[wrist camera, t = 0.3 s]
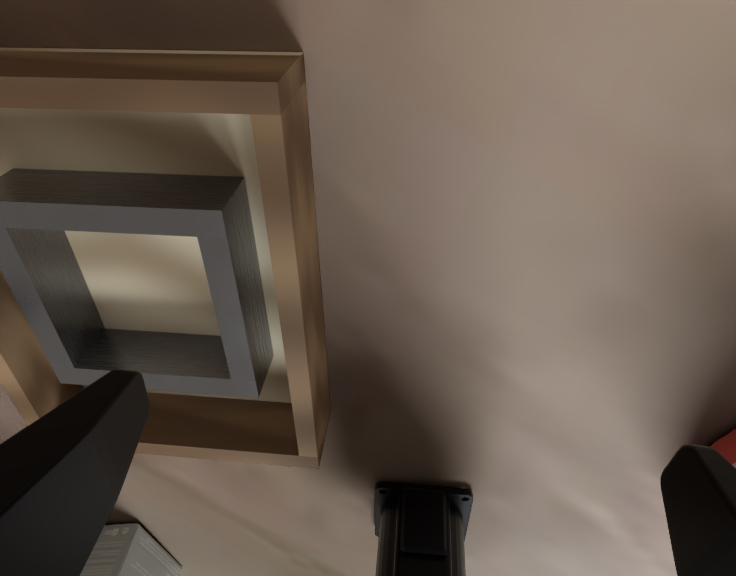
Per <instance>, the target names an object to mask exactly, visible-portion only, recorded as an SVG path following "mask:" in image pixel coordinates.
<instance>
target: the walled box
mask: <svg viewBox="0 0 736 576" xmlns="http://www.w3.org/2000/svg"><path fill="white" fill-rule="evenodd" d="M13 168H20V169H47V170H74V171H101V172H129V173H156V174H183V175H210V176H237V177H245V181H246V187H247V193H248V199H249V206H250V212H251V218H252V224H253V230H254V237H255V243H256V249H257V255H258V261H259V268H260V274H261V280H262V286H263V292H264V298H265V305H266V311H267V317H268V323H269V329H270V336H271V342H272V348H273V354H274V356H273V359H272V362H271V365H270V367H269V370H268V373H267V376H266V379H265V382H264V384H263V387H262V390H261V393H260V396H259V398H254V397H241V396H227V395H214V394H200V393H186V392H173V391H159V390H146V391H147V394H148V398H149V403H150V410H149V415H148V418H147V421H146V424H145V427H144V429H143V432H142V435H141V437H140V440H139V443H138V445H137V448H136V451H135V453H141V454H152V455H164V456H176V457H188V458H200V459H212V460H223V461H235V462H247V463H259V464H271V465H283V466H294V467H306V468H318V469H319V466H320V461H321V456H322V451H323V446H324V441H325V436H326V431H327V426H328V421H329V416H330V411H331V408H330V395H329V382H328V369H327V356H326V342H325V329H324V316H323V303H322V290H321V277H320V264H319V251H318V238H317V224H316V211H315V198H314V185H313V172H312V159H311V146H310V133H309V119H308V106H307V93H306V80H305V67H304V54H303V52H252V51H189V50H127V49H64V48H1V47H0V176H2V175H3V174H5V173H6V172H8V171H10V170H11V169H13ZM65 233H66V235H67V238H68V240H69V243H70V245H71V247H72V250H73V252H74V255H75V257H76V260H77V262H78V264H79V267H80V269H81V272H82V274H83V276H84V279H85V281H86V284H87V286H88V288H89V291H90V293H91V296H92V298H93V300H94V303H95V305H96V308H97V310H98V312H99V315H100V317H101V320H102V322H103V324H104V327H105V328H106V329H122V330H138V331H154V332H169V333H185V334H201V335H216V336H221V335H220V330H219V326H218V322H217V318H216V314H215V309H214V305H213V301H212V297H211V293H210V289H209V284H208V280H207V276H206V272H205V268H204V263H203V259H202V255H201V251H200V247H199V243H198V238H197V237H189V236H168V235H147V234H126V233H105V232H84V231H65ZM0 383H1V385H2V386H3V388H4V389H5V391H6V393H7V394H8V396H9V397H10V399H11V400H12V402H13V404H14V405H15V407H16V408H17V410H18V412H19V413H20V415H21V416H22V418H23V419H24V421H25V423H26V424H27V426H28V425H30V424H31V423H33V422H34V421H36V420H38V419H39V418H41V417H42V416H44V415H45V414H47V413H48V412H50V411H51V410H53V409H54V408H56V407H57V406H59V405H60V404H62V403H63V402H65V401H66V400H68V399H69V398H71V397H72V396H74V395H75V394H77V393H78V392H80V391H81V390H83V389H84V388H86V387H87V386H89V385H78V384H64V383H60V381H59V380H58V378H57V376H56V374H55V372H54V370H53V368H52V366H51V364H50V363H49V361H48V359H47V357H46V355H45V353H44V351H43V349H42V347H41V346H40V344H39V342H38V340H37V338H36V336H35V334H34V332H33V330H32V329H31V327H30V325H29V323H28V321H27V319H26V317H25V315H24V313H23V312H22V310H21V308H20V306H19V304H18V302H17V300H16V298H15V296H14V295H13V293H12V291H11V289H10V287H9V285H8V283H7V281H6V279H5V278H4V276H3V274H2V272H1V270H0Z"/></svg>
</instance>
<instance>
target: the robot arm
mask: <svg viewBox="0 0 736 576" xmlns="http://www.w3.org/2000/svg"><path fill="white" fill-rule="evenodd" d="M149 410H150V403H149V398H148V394H147V391H146V387H145V383H144V379H143V376H142V374H141V373H140V372H139V371H135V370H127V369H114V370H112V371H110V372H108V373H107V374H105V375H104V376H102V377H101V378H99V379H98V380H96V381H95V382H93V383H92V384H90V385H89V386H87V387H86V388H84V389H83V390H81V391H80V392H78V393H77V394H75V395H74V396H72V397H71V398H69V399H68V400H66V401H65V402H63V403H62V404H60V405H59V406H57V407H56V408H54V409H53V410H51V411H50V412H48V413H47V414H45V415H44V416H42V417H41V418H39V419H38V420H36V421H34V422H33V423H31V424H30V425H28V426H27V427H25V428H24V429H22V430H21V431H19V432H18V433H16V434H15V435H13V436H12V437H10V438H9V439H7V440H6V441H4V442H3V443H1V444H0V576H80V574H81V572H82V570H83V568H84V566H85V564H86V562H87V560H88V558H89V556H90V554H91V552H92V550H93V548H94V546H95V544H96V542H97V540H98V538H99V536H100V534H101V532H102V530H103V528H104V526H105V524H106V522H107V520H108V518H109V516H110V514H111V512H112V510H113V507H114V505H115V503H116V501H117V499H118V496H119V494H120V491H121V489H122V486H123V483H124V481H125V478H126V475H127V472H128V470H129V467H130V464H131V462H132V459H133V456H134V454H135V451H136V448H137V445H138V443H139V440H140V437H141V435H142V432H143V429H144V427H145V424H146V421H147V418H148V415H149ZM661 491H662V496H663V502H664V507H665V512H666V518H667V523H668V529H669V534H670V539H671V545H672V550H673V556H674V561H675V566H676V571H677V575H678V576H736V468H735V467H734V466H733V465H732V464H731V463H730V462H729V461H727V460H726V459H725V458H724V457H723V456H722V455H721V454H720V453H719V452H718V451H716V450H715V449H713V448H711V447H708V446H702V445H695V444H685V445H683V446H681V447H680V448H679V450H678V451H677V452H676V454H675V455H674V456H673V458H672V459H671V461H670V462H669V463H668V465H667V466H666V467H665V469H664V470H663V472H662V475H661ZM472 502H473V493H472V492H471V491H470V490H466V489H455V488H443V487H431V486H420V485H408V484H396V483H385V482H380V483H377V484H376V488H375V535H376V536H378V537H379V541H378V553H377V564H376V576H466V573H465V553H464V541H465V536H466V531H467V526H468V521H469V517H470V512H471V507H472Z"/></svg>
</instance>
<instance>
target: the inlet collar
mask: <svg viewBox="0 0 736 576" xmlns="http://www.w3.org/2000/svg"><path fill="white" fill-rule="evenodd" d="M65 231H84V232H105V233H126V234H147V235H168V236H189V237H197V238H198V243H199V247H200V251H201V255H202V259H203V263H204V268H205V272H206V276H207V280H208V284H209V289H210V293H211V297H212V301H213V305H214V309H215V314H216V318H217V322H218V326H219V330H220V335H221V336H216V335H201V334H185V333H169V332H154V331H138V330H122V329H106V328H105V327H104V324H103V322H102V320H101V317H100V315H99V312H98V310H97V308H96V305H95V303H94V300H93V298H92V296H91V293H90V291H89V288H88V286H87V284H86V281H85V279H84V276H83V274H82V272H81V269H80V267H79V264H78V262H77V260H76V257H75V255H74V252H73V250H72V247H71V245H70V243H69V240H68V238H67V235H66V233H65ZM0 270H1V272H2V274H3V276H4V278H5V279H6V281H7V283H8V285H9V287H10V289H11V291H12V293H13V295H14V296H15V298H16V300H17V302H18V304H19V306H20V308H21V310H22V312H23V313H24V315H25V317H26V319H27V321H28V323H29V325H30V327H31V329H32V330H33V332H34V334H35V336H36V338H37V340H38V342H39V344H40V346H41V347H42V349H43V351H44V353H45V355H46V357H47V359H48V361H49V363H50V364H51V366H52V368H53V370H54V372H55V374H56V376H57V378H58V380H59V381H60V383H64V384H78V385H90V384H92V383H93V382H95V381H96V380H98V379H99V378H101V377H102V376H104V375H105V374H107V373H108V372H110V371H112V370H114V369H127V370H135V371H139V372H140V373H141V374H142V376H143V379H144V383H145V387H146V390H159V391H173V392H186V393H200V394H214V395H227V396H241V397H254V398H259V396H260V393H261V390H262V387H263V384H264V382H265V379H266V376H267V373H268V370H269V367H270V365H271V362H272V359H273V356H274V354H273V348H272V342H271V336H270V329H269V323H268V317H267V311H266V305H265V298H264V292H263V286H262V280H261V274H260V268H259V261H258V255H257V249H256V243H255V237H254V230H253V224H252V218H251V212H250V206H249V199H248V193H247V187H246V181H245V177H237V176H210V175H183V174H156V173H129V172H101V171H74V170H47V169H20V168H13V169H11V170H10V171H8V172H6V173H5V174H3V175H2V176H0Z"/></svg>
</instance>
